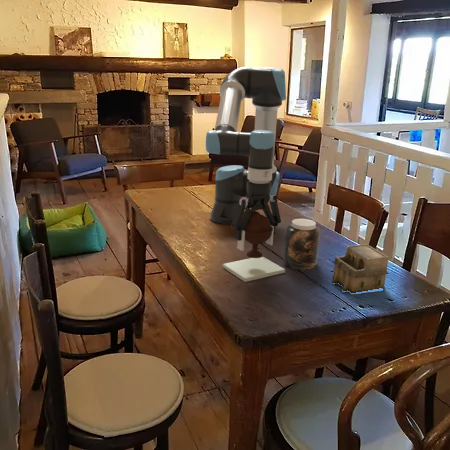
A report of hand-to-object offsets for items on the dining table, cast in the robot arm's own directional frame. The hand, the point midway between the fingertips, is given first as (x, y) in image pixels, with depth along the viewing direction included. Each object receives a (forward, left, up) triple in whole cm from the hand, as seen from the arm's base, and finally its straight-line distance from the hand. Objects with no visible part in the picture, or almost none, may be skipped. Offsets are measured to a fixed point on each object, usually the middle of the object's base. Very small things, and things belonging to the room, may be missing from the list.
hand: (255, 246), depth 162 cm
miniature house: (-23, +24, -9) cm, 34 cm away
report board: (0, 0, -8) cm, 8 cm away
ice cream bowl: (0, 0, -3) cm, 3 cm away
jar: (-18, +2, -9) cm, 20 cm away
